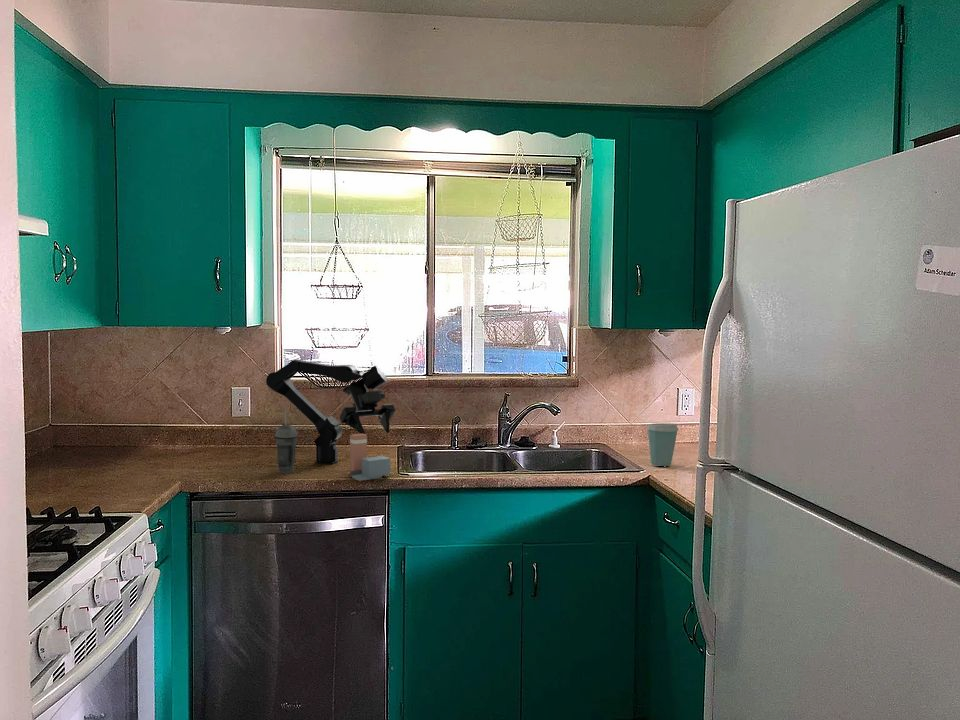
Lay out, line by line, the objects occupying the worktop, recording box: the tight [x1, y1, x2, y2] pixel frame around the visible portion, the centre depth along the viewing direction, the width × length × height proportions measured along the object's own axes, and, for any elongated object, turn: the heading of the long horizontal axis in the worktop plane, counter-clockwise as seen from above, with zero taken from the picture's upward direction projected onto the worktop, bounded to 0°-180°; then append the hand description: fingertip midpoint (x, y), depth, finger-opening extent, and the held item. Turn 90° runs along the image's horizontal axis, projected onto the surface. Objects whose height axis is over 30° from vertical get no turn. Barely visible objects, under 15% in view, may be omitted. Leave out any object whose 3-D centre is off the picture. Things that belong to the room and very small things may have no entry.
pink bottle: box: [349, 433, 368, 472], centre depth 249 cm, size 3×4×13 cm
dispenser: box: [349, 455, 391, 482], centre depth 246 cm, size 6×11×6 cm, turn 126°
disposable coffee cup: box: [646, 422, 679, 467], centre depth 270 cm, size 11×11×15 cm
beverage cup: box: [274, 410, 299, 474], centre depth 252 cm, size 7×7×20 cm
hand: (376, 433), depth 257 cm, fingers open, 9 cm apart
